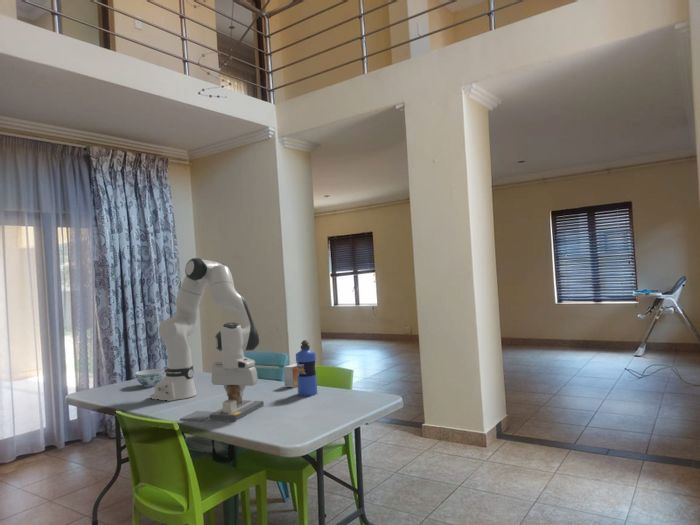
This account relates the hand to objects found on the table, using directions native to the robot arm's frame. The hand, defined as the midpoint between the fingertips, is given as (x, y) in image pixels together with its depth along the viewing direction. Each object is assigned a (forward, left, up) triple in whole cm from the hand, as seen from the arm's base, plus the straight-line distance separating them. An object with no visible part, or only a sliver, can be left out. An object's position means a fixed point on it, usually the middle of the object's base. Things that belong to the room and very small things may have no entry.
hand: (235, 395), depth 203 cm
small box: (+3, +49, -8) cm, 49 cm away
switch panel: (0, +2, -7) cm, 8 cm away
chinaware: (-80, +41, -8) cm, 90 cm away
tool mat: (-13, -6, -7) cm, 16 cm away
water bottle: (+17, +35, -8) cm, 39 cm away
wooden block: (0, 0, -4) cm, 4 cm away
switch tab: (0, -4, -5) cm, 7 cm away
